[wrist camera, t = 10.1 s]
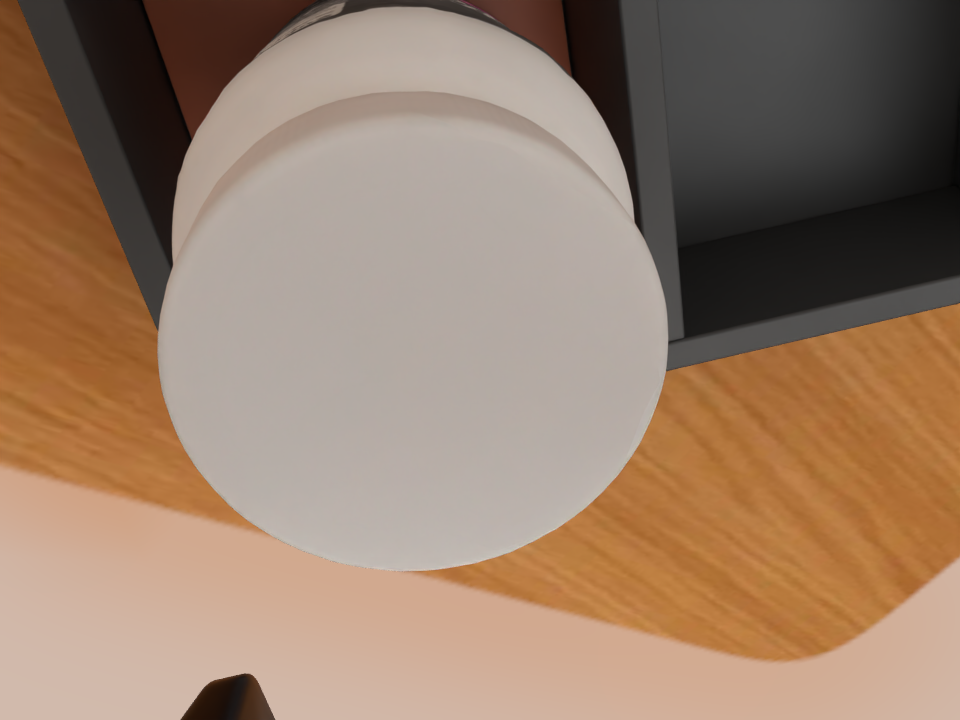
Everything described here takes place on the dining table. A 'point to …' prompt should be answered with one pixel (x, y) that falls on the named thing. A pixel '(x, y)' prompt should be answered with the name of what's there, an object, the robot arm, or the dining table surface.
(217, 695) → the robot arm
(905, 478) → the dining table surface
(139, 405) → the dining table surface
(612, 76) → the grid
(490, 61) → the pill bottle
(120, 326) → the dining table surface
